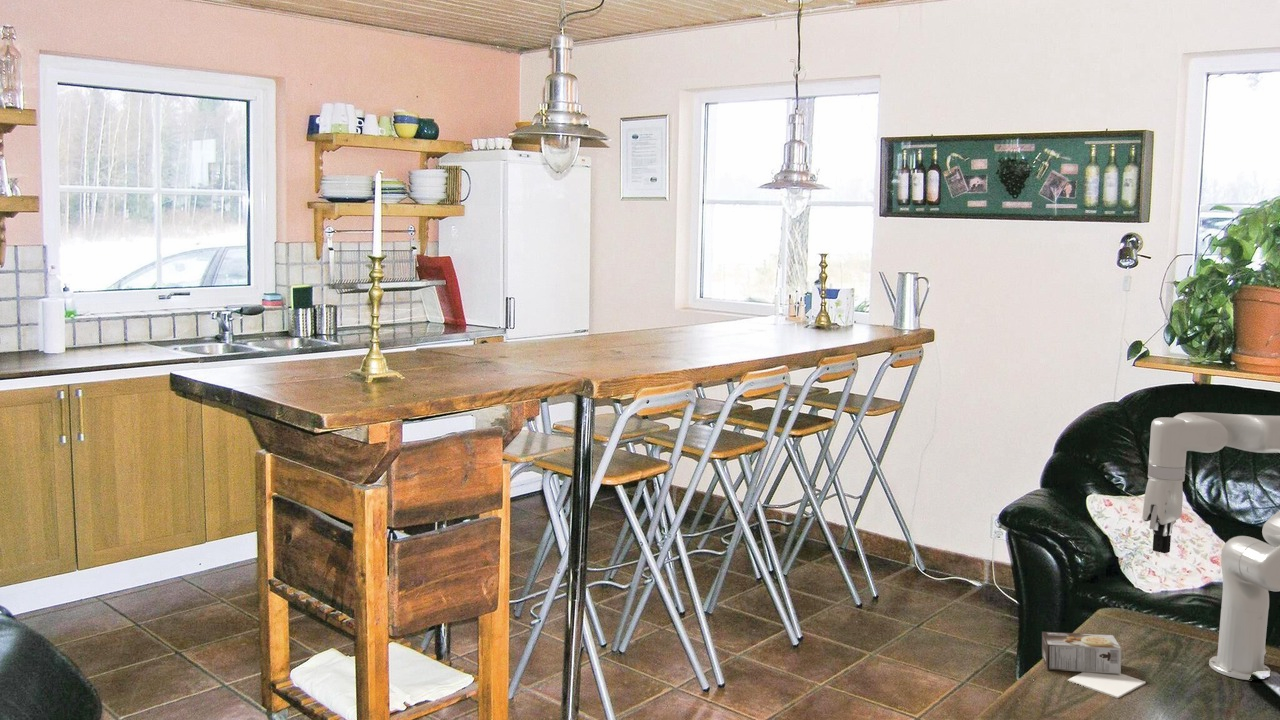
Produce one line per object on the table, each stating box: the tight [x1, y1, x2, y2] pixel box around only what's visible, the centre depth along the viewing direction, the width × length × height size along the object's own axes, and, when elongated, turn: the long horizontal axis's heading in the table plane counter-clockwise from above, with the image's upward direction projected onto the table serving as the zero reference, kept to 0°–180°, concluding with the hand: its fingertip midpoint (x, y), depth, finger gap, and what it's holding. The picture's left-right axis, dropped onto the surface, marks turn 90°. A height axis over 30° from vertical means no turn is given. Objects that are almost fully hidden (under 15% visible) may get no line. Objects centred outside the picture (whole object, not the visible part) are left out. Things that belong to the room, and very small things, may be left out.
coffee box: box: [1041, 631, 1122, 674], centre depth 255 cm, size 9×6×16 cm
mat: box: [1067, 672, 1147, 699], centre depth 246 cm, size 13×12×1 cm
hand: (1161, 551), depth 248 cm, fingers closed
